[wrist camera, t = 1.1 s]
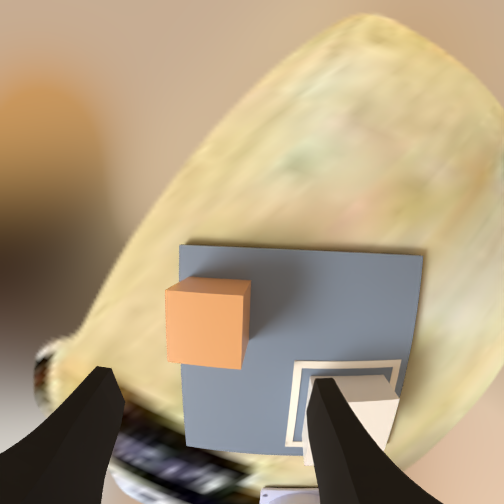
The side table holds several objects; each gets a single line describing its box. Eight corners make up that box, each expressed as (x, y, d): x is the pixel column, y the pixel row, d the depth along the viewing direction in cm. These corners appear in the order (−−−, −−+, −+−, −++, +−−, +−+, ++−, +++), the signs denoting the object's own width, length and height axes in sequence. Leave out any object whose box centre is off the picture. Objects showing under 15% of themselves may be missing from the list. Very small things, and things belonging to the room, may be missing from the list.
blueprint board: (381, 447, 23) (383, 451, 22) (188, 441, 24) (186, 446, 24) (419, 255, 21) (423, 256, 21) (181, 244, 23) (179, 245, 22)
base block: (369, 433, 22) (380, 460, 18) (301, 435, 23) (304, 465, 19) (383, 374, 22) (399, 399, 18) (309, 375, 22) (315, 402, 18)
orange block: (248, 340, 22) (241, 369, 17) (189, 335, 23) (167, 361, 18) (251, 280, 22) (243, 295, 17) (188, 276, 22) (165, 290, 17)
